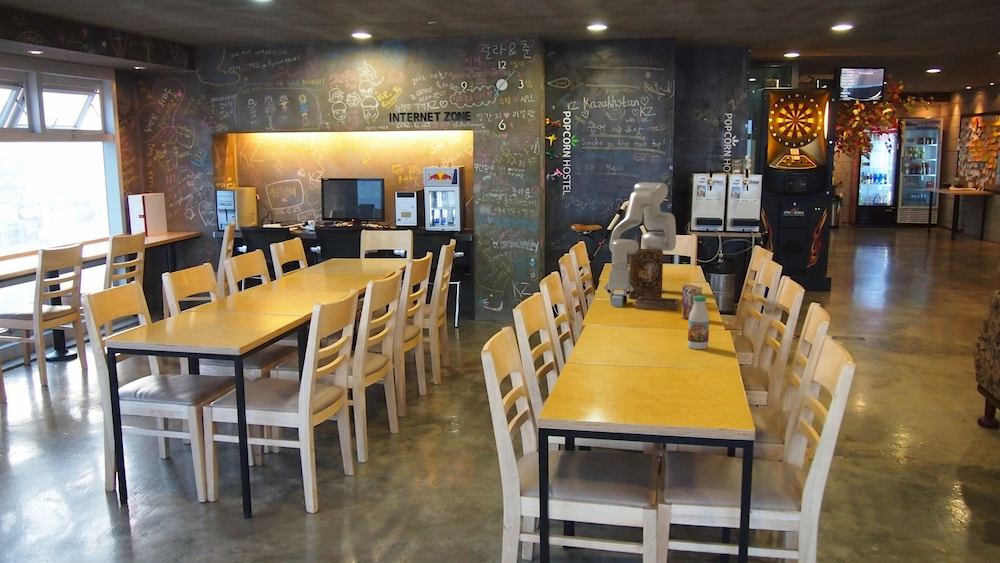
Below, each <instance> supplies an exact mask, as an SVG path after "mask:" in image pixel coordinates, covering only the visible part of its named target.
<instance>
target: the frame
mask: <svg viewBox="0 0 1000 563" xmlns="http://www.w3.org/2000/svg"><path fill="white" fill-rule="evenodd" d="M634 304H635V305H634V309H635V308H637V309H636V310H650V309H653V310H652V311H667V310H670V312H672V311H673V312H677V311H678V310H679V309H678V308H679V307H680V298H673V297H672V298H670V297H669V298H668V297H662V298H653V297H638V298H637V299H635V301H634Z"/></svg>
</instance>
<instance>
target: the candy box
mask: <svg viewBox="0 0 1000 563" xmlns="http://www.w3.org/2000/svg"><path fill="white" fill-rule="evenodd" d="M694 296H703V287H702V286H698V285H693V284H689V283H688V284H683V285H682V297H681V319H683V318H684V319H683V320H687V319H688V321H689V315H690V312H691V310H692V308H693V306H694V302H693V301H694Z"/></svg>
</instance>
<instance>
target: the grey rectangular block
mask: <svg viewBox="0 0 1000 563" xmlns="http://www.w3.org/2000/svg"><path fill="white" fill-rule="evenodd" d="M623 296H624V292H621V291H620V292H619V291H616V292H615V293H614V295H613V296H612V297H611V296H610V307H611V306H614V307H613V308H622V307H623V306H624V304H623ZM622 305H623V306H622Z"/></svg>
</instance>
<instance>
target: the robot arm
mask: <svg viewBox="0 0 1000 563" xmlns="http://www.w3.org/2000/svg"><path fill="white" fill-rule="evenodd" d="M668 192H669V188H668V186H667V185H666V183H664V182H644V181H643V182H637V183H635V184H634V187H633V191H632V192H631V194H630V195H629V199H628V203H627V206H626V207H627V208H626V211H625V215H624V218H623V219H622V220H621V221H620V222H619V223H618V224H617V225H616V226H615V227H614V229H613V230H612V232H611V236H610V241H609V251H610V252H611V268H610V270H609V275H608V282H607V283H606V284H605V285H604V286H603V289H604V290H605V291H607V293H608V294H609V295H610V298H611V297H612V296H613V295H614V294H615V293H614V292H615V290H619V291H623V292H624V296H623V305H625V304H626V303H627V302H628V301H627V300H628V296H629V293H630V292H631V291H633V290H634V288H633V286H632V285H631V284H630V274H629V267H630V265H629V263H628V256H630V255H634V254H636V253H637V252H638V249H640V247H639V246H640V244H639V242H638V241H636V240H635V239H628V238H627V239H626V238H625V239H624V238H620V237H621V235H622V234H623V233H624V232H626V231H627V230H629V229H632V228H634V227H636V226H638V225H639V226H640V224H641V223H642V221H643V222H644V223H643V224H644V228H646V229H647V230H649V231H647V232H645V233H644V234H643V236H642V249H661V250H662V251H663V252H671V251H673V250H675V248H676V246H677V232H676V231H677V227H676V218H675V215H674V214H672V213H670V212H662V211H661V203H662V202H663V201H664V200H666V199H667V196H668ZM662 231H663V232H662ZM629 288H630V290H629ZM664 291H665V289H664V288H663V287H662V293H663V292H664Z"/></svg>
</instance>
